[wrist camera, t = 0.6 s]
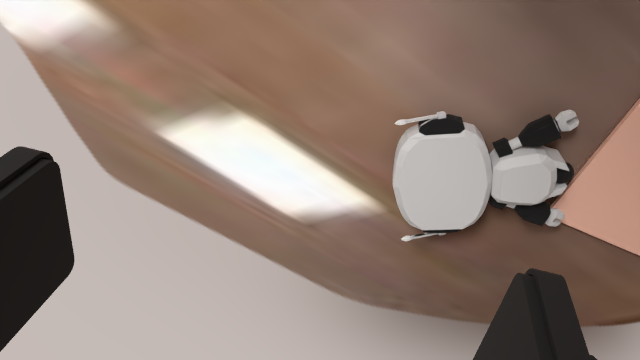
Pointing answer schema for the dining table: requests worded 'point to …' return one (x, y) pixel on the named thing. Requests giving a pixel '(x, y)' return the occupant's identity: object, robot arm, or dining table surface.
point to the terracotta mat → (609, 188)
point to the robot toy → (477, 172)
